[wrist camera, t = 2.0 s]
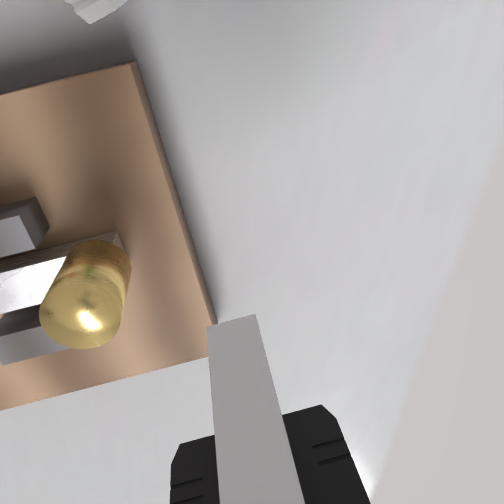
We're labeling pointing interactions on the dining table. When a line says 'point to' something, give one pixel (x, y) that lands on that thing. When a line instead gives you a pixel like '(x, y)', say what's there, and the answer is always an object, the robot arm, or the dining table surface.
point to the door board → (96, 229)
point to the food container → (94, 8)
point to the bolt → (71, 289)
